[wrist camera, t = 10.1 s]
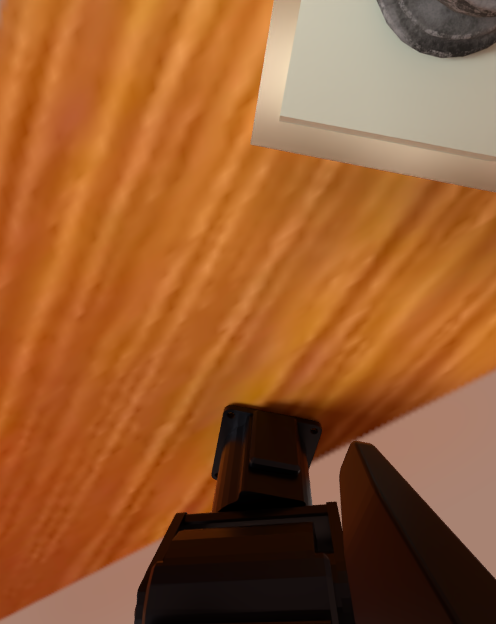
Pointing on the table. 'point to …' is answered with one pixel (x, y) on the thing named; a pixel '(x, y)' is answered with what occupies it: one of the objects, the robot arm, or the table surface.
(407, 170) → the birch slab
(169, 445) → the table surface
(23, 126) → the table surface
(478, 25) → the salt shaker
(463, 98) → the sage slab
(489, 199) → the table surface
